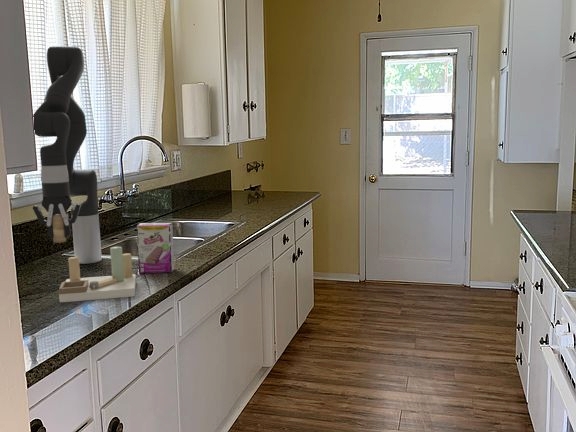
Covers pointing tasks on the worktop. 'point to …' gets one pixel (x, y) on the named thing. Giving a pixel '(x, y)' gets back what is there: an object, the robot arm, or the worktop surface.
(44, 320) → the worktop surface
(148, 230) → the candy bar box
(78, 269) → the stool seat
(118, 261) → the hinged leg
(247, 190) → the worktop surface
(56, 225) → the loose leg
